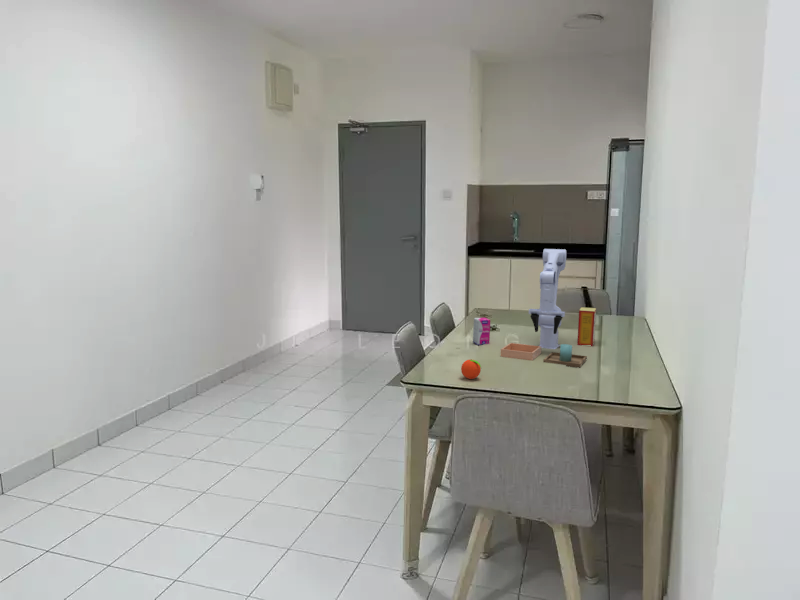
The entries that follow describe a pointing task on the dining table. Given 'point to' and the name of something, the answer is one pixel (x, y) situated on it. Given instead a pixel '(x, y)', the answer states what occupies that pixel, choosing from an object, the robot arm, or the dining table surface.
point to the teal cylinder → (565, 352)
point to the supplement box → (481, 331)
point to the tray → (575, 362)
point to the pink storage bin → (521, 351)
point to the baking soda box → (586, 326)
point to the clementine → (471, 369)
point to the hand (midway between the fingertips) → (545, 332)
